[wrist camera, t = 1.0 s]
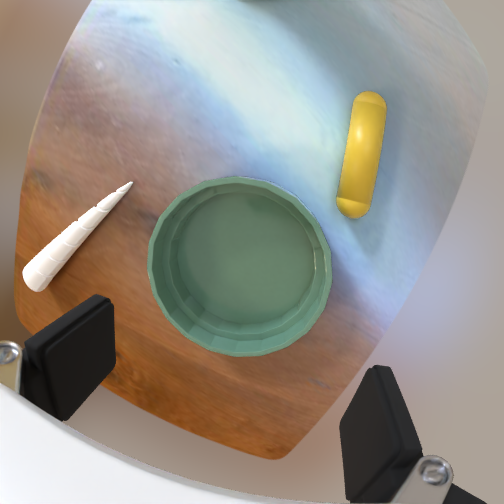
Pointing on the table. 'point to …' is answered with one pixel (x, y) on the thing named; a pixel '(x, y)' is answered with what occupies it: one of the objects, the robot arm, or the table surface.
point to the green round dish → (240, 266)
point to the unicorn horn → (67, 243)
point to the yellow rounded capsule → (362, 154)
